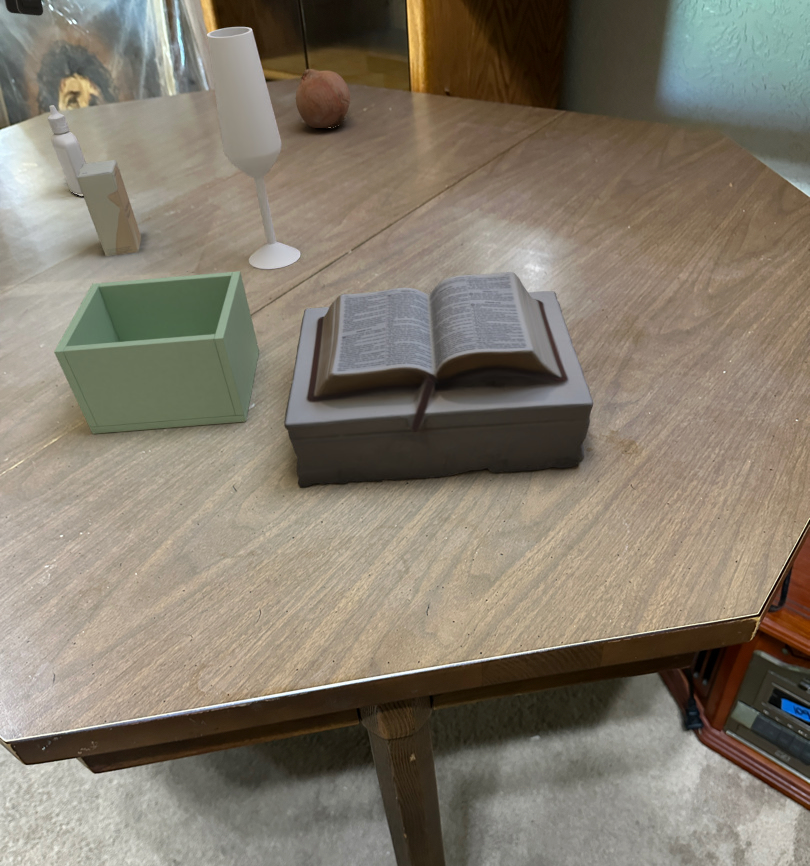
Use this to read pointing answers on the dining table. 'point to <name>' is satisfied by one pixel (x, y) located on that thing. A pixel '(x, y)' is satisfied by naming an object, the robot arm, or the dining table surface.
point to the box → (109, 207)
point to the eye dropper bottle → (66, 149)
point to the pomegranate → (322, 98)
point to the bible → (436, 384)
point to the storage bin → (161, 353)
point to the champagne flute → (248, 126)
